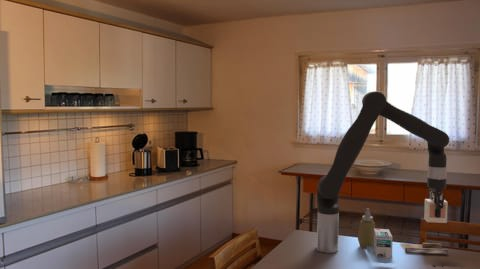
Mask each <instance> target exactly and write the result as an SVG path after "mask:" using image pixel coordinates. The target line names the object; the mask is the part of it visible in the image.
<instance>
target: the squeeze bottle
mask: <svg viewBox="0 0 480 269" xmlns="http://www.w3.org/2000/svg"><path fill="white" fill-rule="evenodd" d="M373 219H374V216H372V215H371V212H370V208H369V207H368V208H367V207H366V209H365V212H364V215H362V216H361V220H360V221H359V226H358V234H357V235H358V236H357V241H358V244H359V247H360V248H361V249H364V250H367V247H368V248H371V247H374V228H375V229H376V223H375V221H374V220H373Z"/></svg>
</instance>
